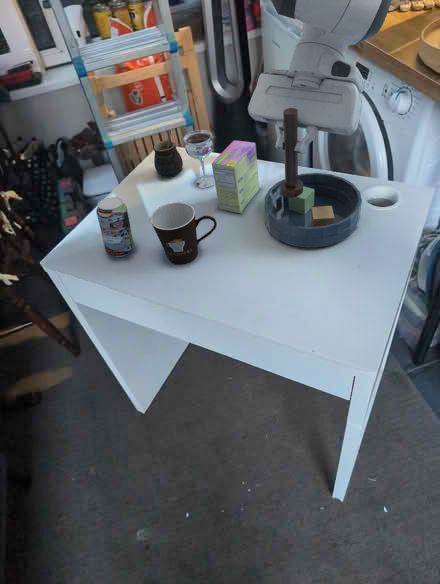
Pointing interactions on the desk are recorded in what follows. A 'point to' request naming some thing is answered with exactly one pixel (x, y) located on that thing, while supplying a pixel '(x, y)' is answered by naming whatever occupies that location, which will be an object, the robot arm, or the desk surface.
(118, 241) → the beverage can
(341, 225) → the bowl
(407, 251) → the desk surface
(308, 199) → the sage block
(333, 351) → the desk surface
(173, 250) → the coffee mug
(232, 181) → the box
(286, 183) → the tall rod on disc
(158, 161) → the mate gourd
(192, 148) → the wineglass
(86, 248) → the desk surface
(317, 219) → the beech block
